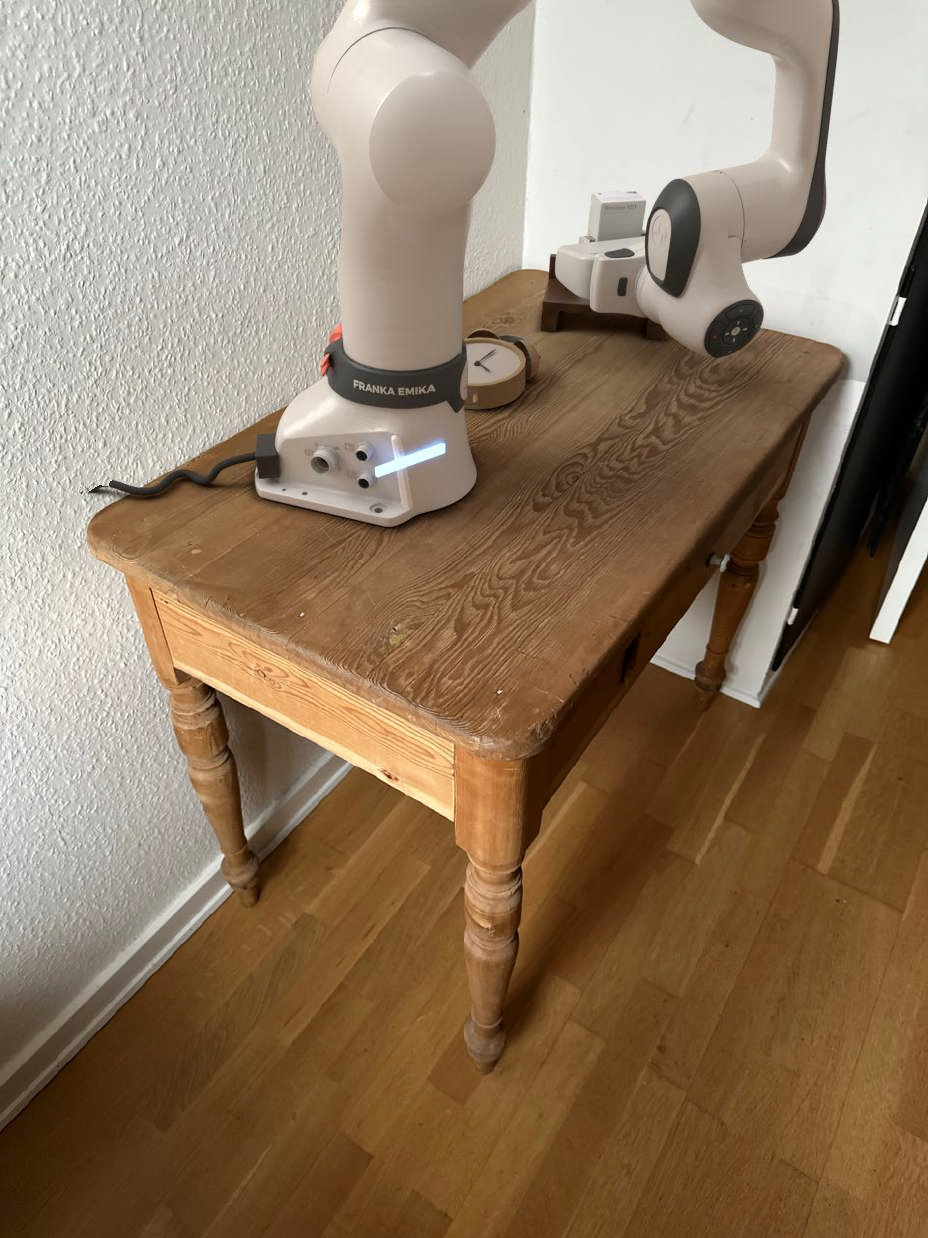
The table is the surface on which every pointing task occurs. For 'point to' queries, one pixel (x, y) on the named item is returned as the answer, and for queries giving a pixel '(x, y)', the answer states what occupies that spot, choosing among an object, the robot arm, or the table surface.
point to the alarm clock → (497, 368)
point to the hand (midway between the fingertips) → (609, 238)
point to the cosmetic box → (616, 215)
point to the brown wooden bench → (576, 305)
